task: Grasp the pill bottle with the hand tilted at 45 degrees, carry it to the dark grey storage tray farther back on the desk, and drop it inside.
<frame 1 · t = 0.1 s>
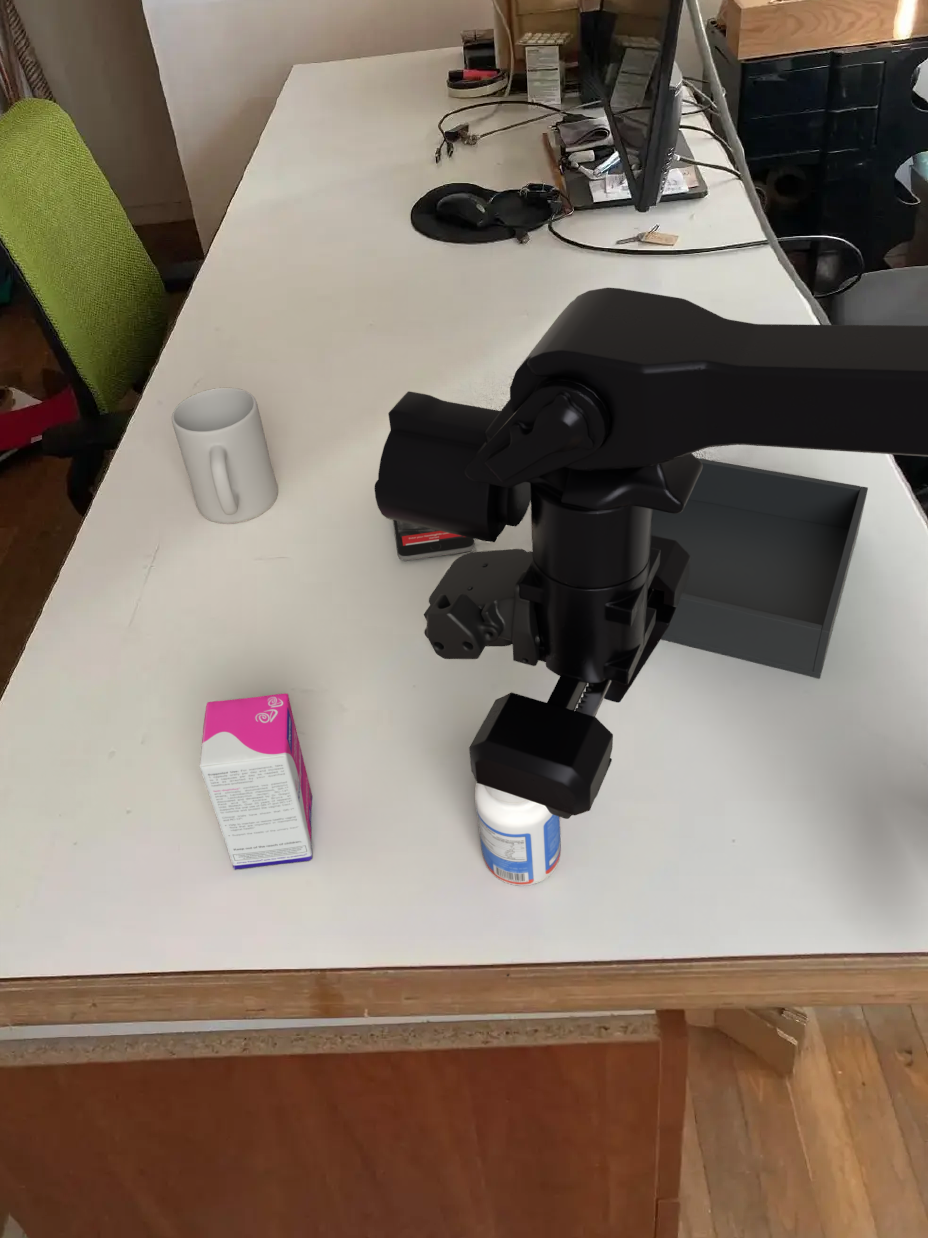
hand: (587, 753, 60), 13 cm above the table, tool pointing down, fingers open, 9 cm apart
smartphone: (429, 511, 101), on the table
dark grey storage tray: (724, 575, 89), on the table
pill bottle: (520, 855, 70), on the table
supplement box: (276, 833, 74), on the table
mug: (238, 510, 105), on the table
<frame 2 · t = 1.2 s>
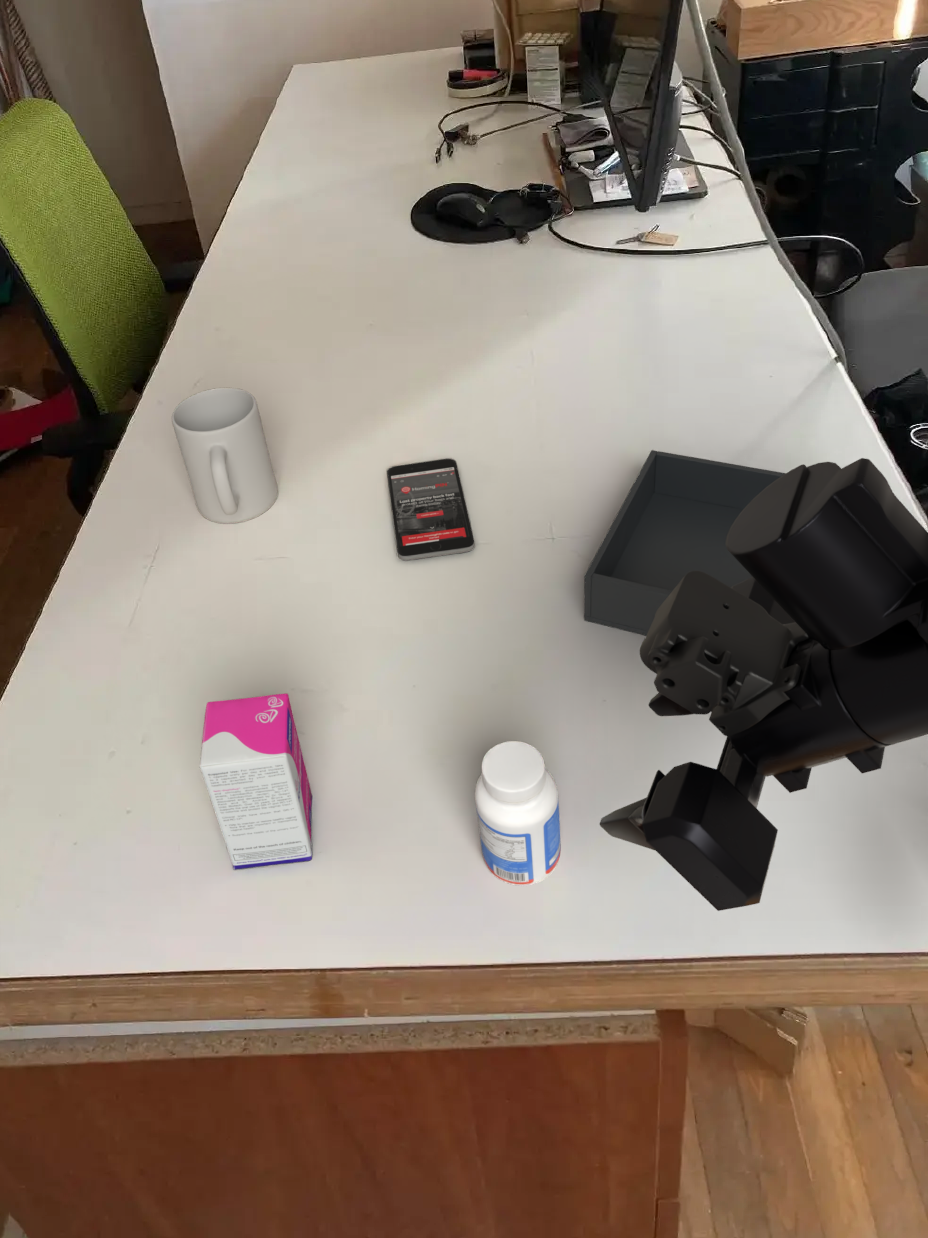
hand: (630, 765, 59), 13 cm above the table, tool tilted 45°, fingers open, 9 cm apart
nothing on the table moved.
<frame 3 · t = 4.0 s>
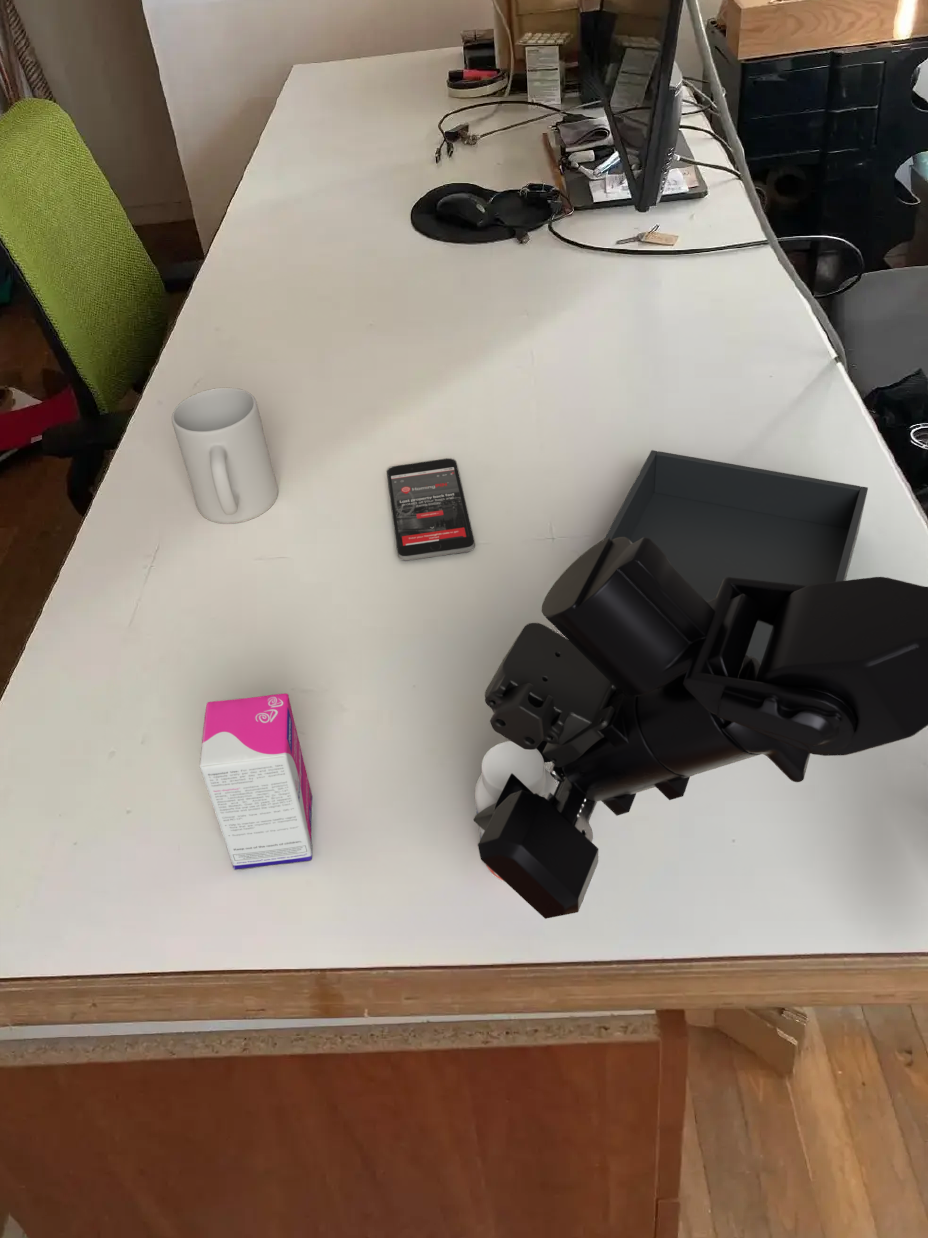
hand: (496, 788, 66), 7 cm above the table, tool tilted 45°, fingers closed on pill bottle, 5 cm apart
pill bottle: (520, 855, 70), on the table, touching gripper
everything else where it was.
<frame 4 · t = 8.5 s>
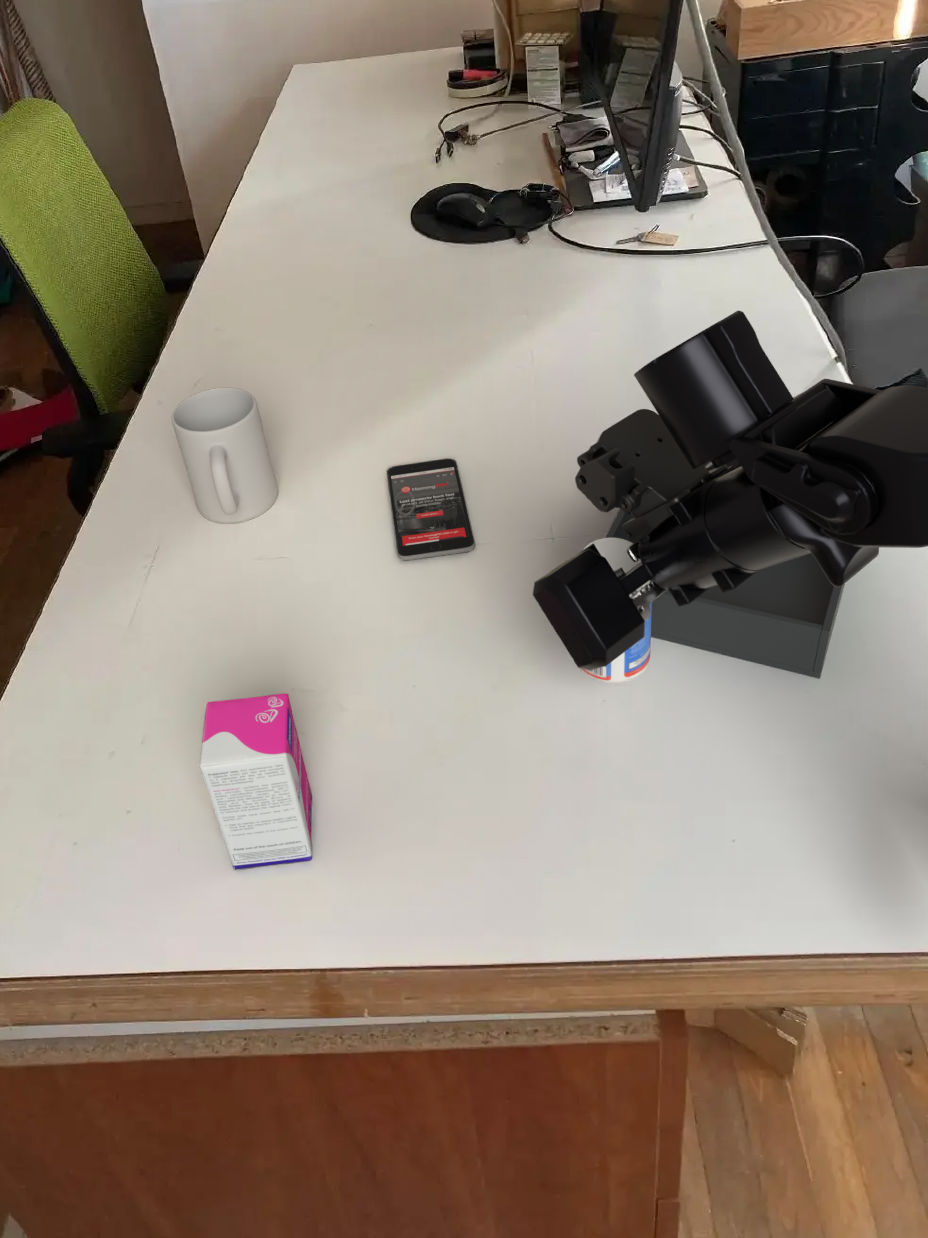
hand: (597, 581, 71), 13 cm above the table, tool tilted 45°, fingers closed on pill bottle, 5 cm apart
pill bottle: (611, 660, 74), point 7 cm above the table, touching gripper
everything else where it was.
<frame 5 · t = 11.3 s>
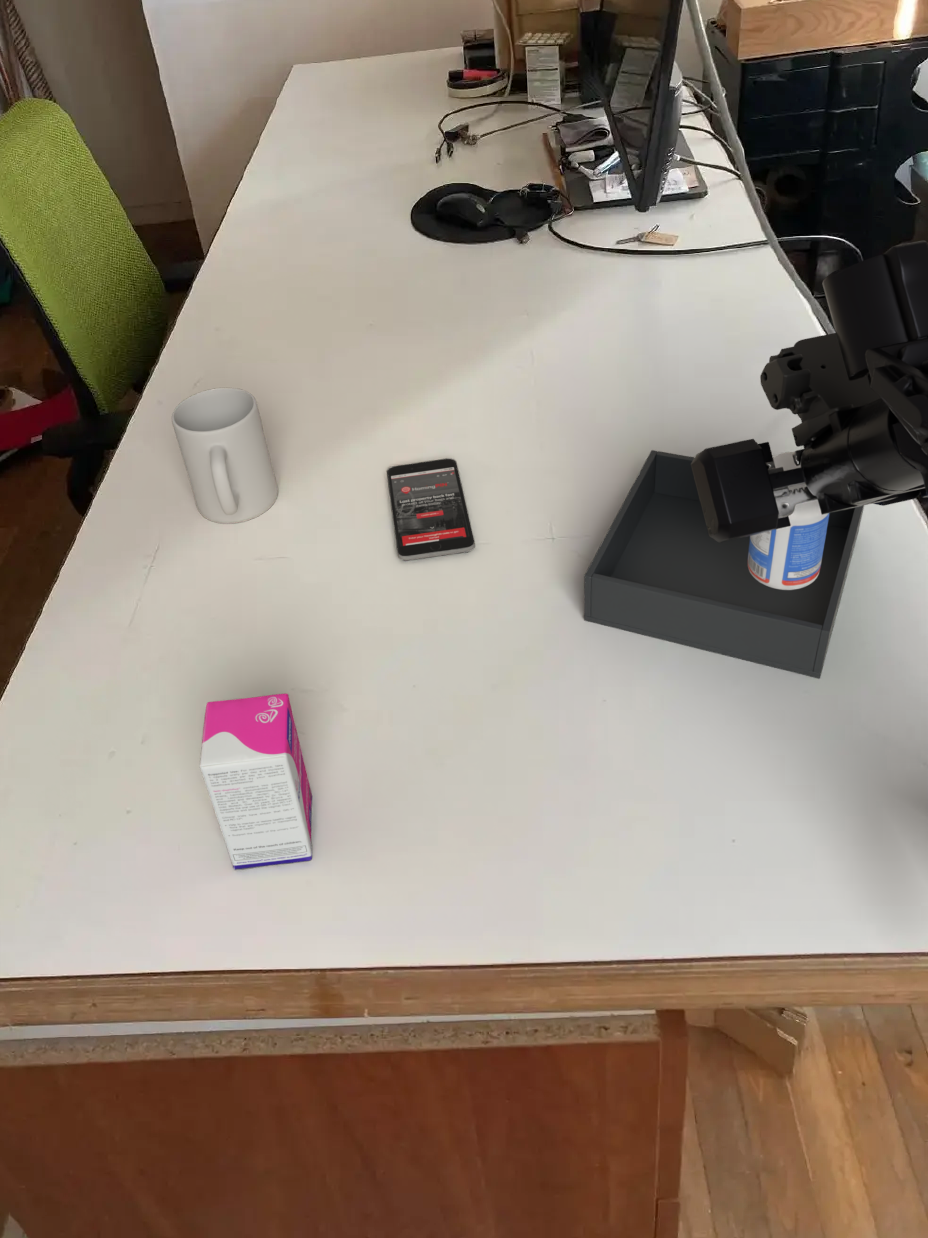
hand: (783, 492, 77), 13 cm above the table, tool tilted 45°, fingers closed on pill bottle, 5 cm apart
pill bottle: (781, 571, 80), point 6 cm above the table, touching gripper
everything else where it was.
when the fingers open (7 cm above the table, at t = 13.4 s): pill bottle stays where it is, resting on dark grey storage tray.
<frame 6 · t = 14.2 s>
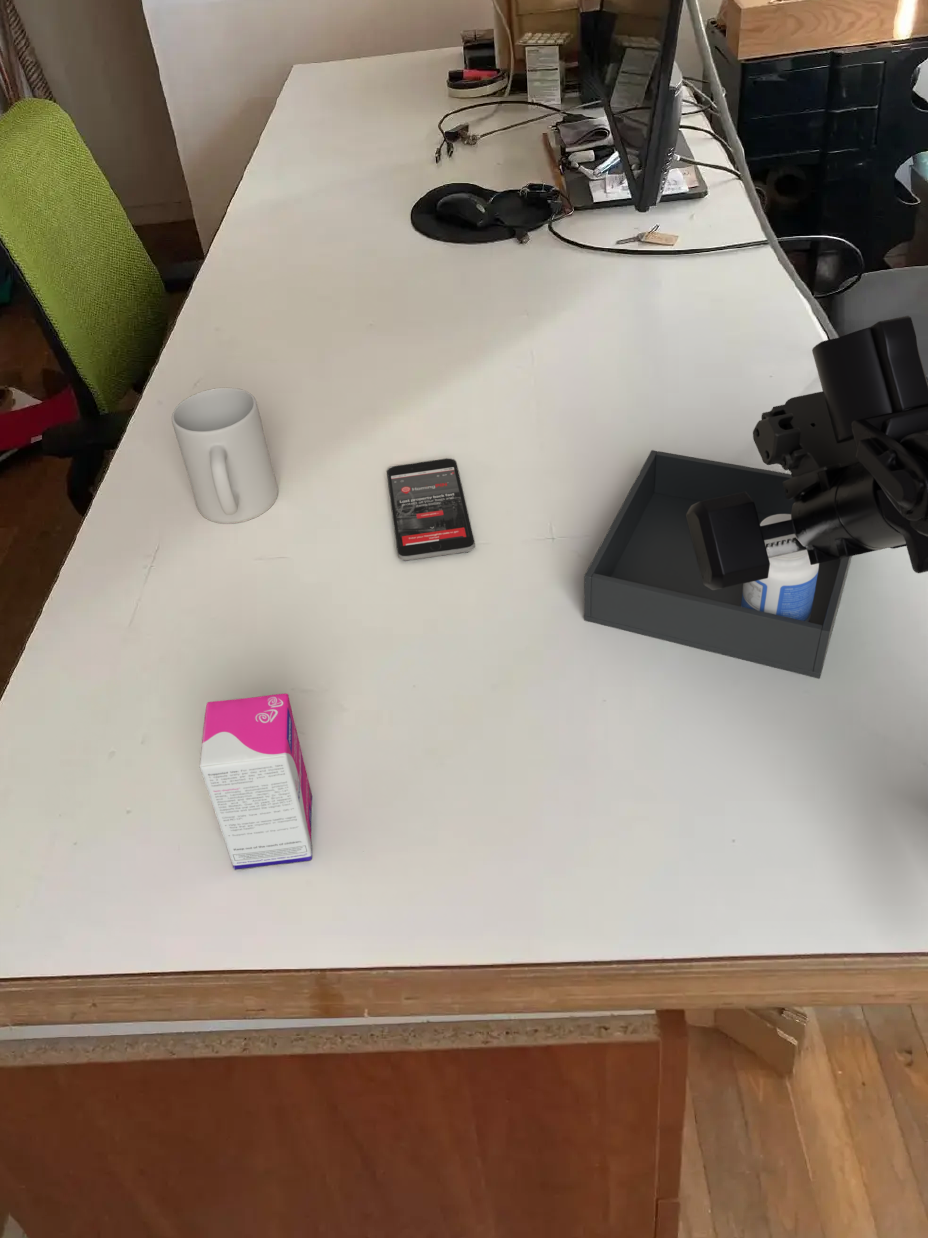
hand: (775, 535, 80), 9 cm above the table, tool tilted 45°, fingers open, 9 cm apart
pill bottle: (772, 624, 84), resting on dark grey storage tray
everything else where it was.
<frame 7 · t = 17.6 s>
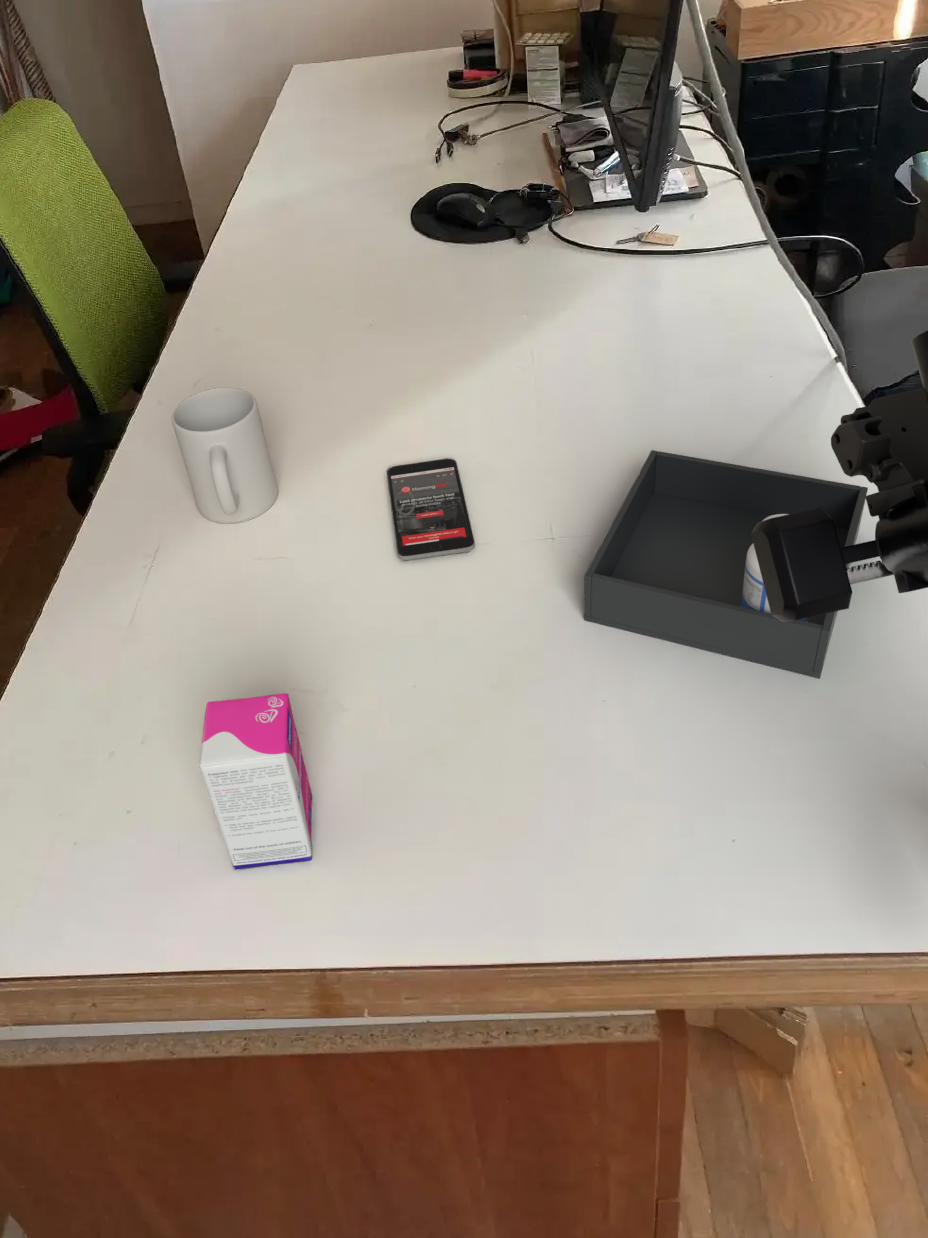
hand: (845, 555, 70), 14 cm above the table, tool tilted 45°, fingers open, 9 cm apart
nothing on the table moved.
at the end: pill bottle inside the target area in the dark grey storage tray (7.2 cm from its centre), point 0.4 cm above the dark grey storage tray's base; the gripper is holding nothing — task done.
